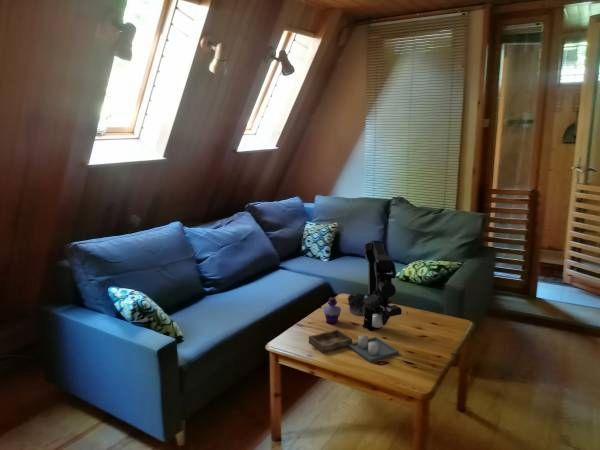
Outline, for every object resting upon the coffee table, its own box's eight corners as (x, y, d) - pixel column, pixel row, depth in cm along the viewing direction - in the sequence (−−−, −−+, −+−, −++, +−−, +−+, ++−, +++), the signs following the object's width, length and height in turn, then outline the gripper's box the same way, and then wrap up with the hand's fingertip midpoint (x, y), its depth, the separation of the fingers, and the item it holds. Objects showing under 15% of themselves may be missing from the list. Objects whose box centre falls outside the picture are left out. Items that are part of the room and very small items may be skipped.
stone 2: (378, 322, 196) (378, 313, 195) (383, 326, 192) (384, 316, 191) (370, 324, 194) (370, 314, 193) (375, 328, 190) (376, 318, 190)
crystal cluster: (379, 312, 236) (380, 293, 235) (364, 318, 226) (364, 298, 225) (358, 307, 245) (358, 289, 244) (342, 312, 235) (343, 293, 234)
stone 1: (361, 343, 198) (361, 334, 197) (369, 346, 195) (369, 336, 194) (355, 347, 195) (356, 337, 194) (363, 350, 192) (364, 340, 191)
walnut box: (337, 335, 207) (337, 329, 207) (351, 345, 198) (352, 338, 197) (308, 342, 200) (308, 336, 199) (322, 353, 191) (322, 346, 190)
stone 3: (375, 351, 192) (376, 341, 191) (379, 355, 188) (379, 345, 187) (366, 352, 191) (366, 342, 190) (370, 356, 187) (370, 346, 186)
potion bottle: (333, 317, 227) (334, 293, 225) (344, 323, 220) (345, 299, 218) (319, 320, 223) (319, 297, 221) (329, 327, 216) (330, 302, 213)
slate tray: (375, 339, 204) (375, 336, 203) (398, 354, 191) (398, 350, 191) (347, 347, 196) (347, 344, 196) (369, 362, 184) (370, 359, 183)
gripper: (354, 284, 195) (352, 319, 198) (381, 299, 179) (379, 336, 182) (375, 280, 200) (373, 314, 203) (403, 294, 184) (401, 331, 187)
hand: (381, 323), depth 194 cm, fingers closed on stone 2, 3 cm apart
